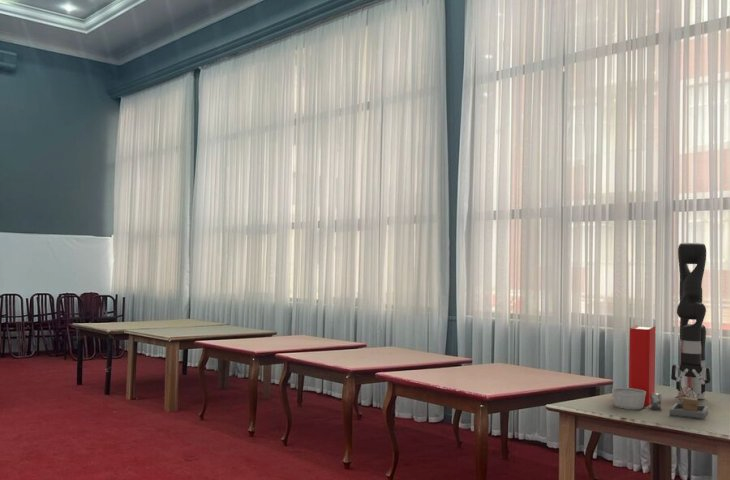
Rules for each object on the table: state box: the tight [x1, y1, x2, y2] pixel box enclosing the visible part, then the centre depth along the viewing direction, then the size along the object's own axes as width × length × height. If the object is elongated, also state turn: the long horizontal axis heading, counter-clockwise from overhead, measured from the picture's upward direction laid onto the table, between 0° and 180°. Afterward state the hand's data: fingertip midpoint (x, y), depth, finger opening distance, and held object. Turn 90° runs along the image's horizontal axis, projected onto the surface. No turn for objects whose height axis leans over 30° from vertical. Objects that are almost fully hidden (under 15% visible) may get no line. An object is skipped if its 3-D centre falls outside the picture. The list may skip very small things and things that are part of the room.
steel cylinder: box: [650, 392, 662, 410], centre depth 293 cm, size 4×4×6 cm
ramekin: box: [611, 387, 646, 410], centre depth 295 cm, size 13×13×7 cm
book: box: [628, 324, 656, 407], centre depth 312 cm, size 27×8×32 cm, turn 153°
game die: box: [675, 385, 700, 403], centre depth 303 cm, size 9×8×10 cm
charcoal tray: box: [669, 402, 709, 421], centre depth 283 cm, size 18×12×2 cm, turn 149°
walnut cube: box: [683, 397, 699, 412], centre depth 286 cm, size 5×5×5 cm
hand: (690, 392), depth 286 cm, fingers open, 8 cm apart
